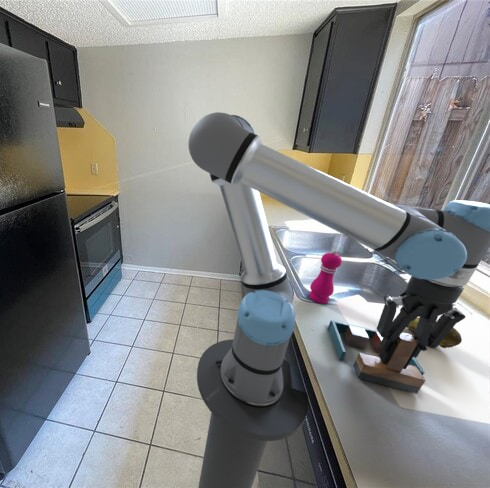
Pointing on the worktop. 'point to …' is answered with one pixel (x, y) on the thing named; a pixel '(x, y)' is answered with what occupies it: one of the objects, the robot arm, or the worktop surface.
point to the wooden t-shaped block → (392, 367)
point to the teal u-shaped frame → (343, 327)
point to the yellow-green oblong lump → (449, 341)
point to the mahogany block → (377, 342)
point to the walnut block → (356, 337)
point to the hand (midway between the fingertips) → (391, 361)
